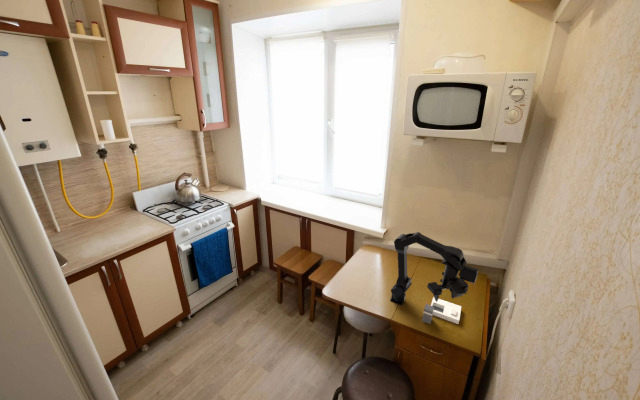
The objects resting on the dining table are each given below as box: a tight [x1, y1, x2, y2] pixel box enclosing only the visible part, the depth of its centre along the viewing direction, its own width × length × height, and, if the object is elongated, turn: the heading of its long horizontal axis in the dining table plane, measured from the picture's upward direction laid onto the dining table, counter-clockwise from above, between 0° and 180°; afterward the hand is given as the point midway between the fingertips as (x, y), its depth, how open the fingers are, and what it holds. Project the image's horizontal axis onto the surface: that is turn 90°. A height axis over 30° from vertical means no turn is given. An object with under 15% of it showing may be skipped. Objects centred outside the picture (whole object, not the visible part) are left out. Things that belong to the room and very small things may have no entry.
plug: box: [421, 303, 434, 325], centre depth 138 cm, size 4×4×8 cm
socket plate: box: [430, 296, 462, 325], centre depth 144 cm, size 14×11×3 cm
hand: (444, 299), depth 135 cm, fingers open, 9 cm apart
